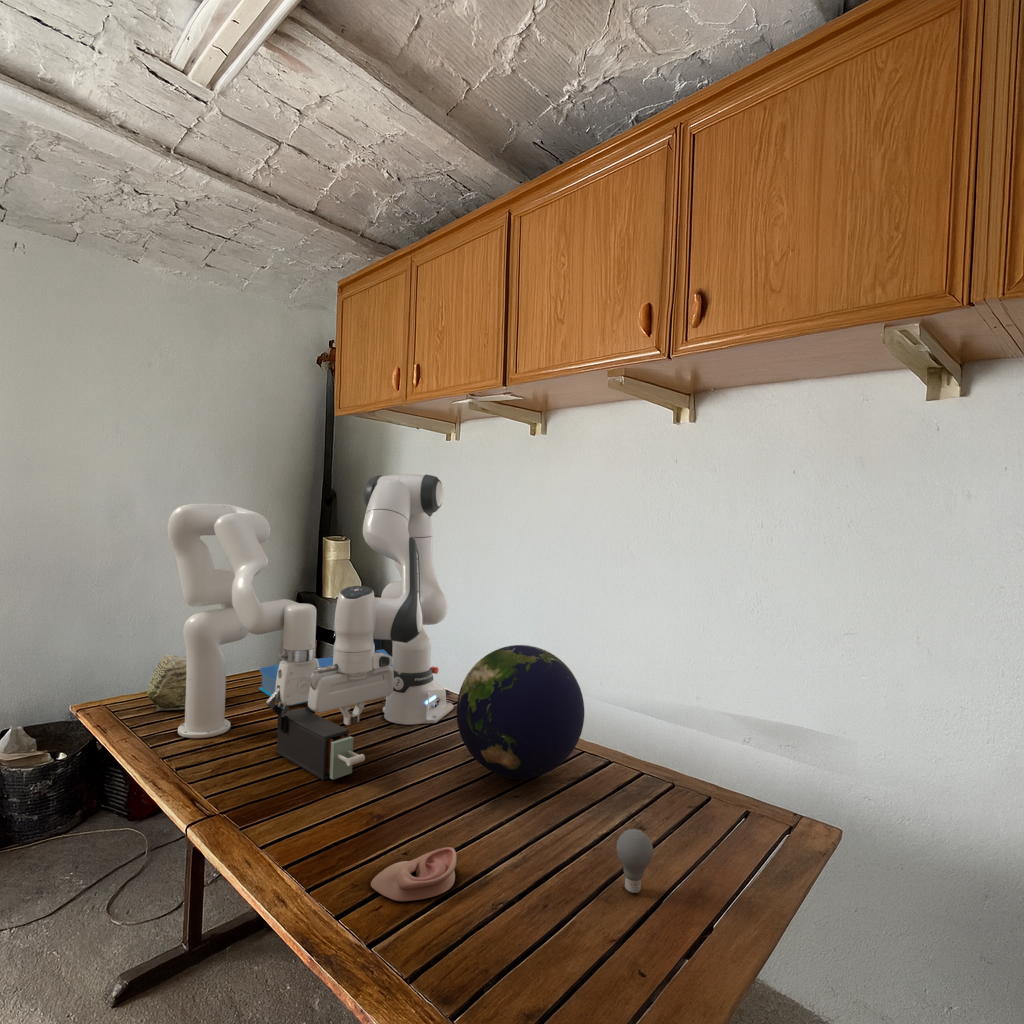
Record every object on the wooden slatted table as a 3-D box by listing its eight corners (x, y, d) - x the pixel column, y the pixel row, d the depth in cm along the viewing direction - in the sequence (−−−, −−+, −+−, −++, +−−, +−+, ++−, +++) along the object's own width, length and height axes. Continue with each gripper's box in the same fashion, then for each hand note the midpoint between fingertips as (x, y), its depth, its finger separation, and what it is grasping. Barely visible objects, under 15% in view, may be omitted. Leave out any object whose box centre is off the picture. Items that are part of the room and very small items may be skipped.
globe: (430, 785, 141) (436, 651, 140) (486, 740, 168) (491, 628, 168) (558, 816, 130) (565, 670, 129) (595, 762, 157) (601, 642, 157)
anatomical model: (363, 870, 101) (391, 834, 112) (362, 895, 101) (390, 856, 113) (442, 884, 99) (463, 845, 110) (441, 909, 99) (462, 868, 110)
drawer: (366, 780, 140) (367, 744, 140) (346, 788, 136) (348, 750, 136) (306, 747, 157) (307, 715, 157) (287, 753, 153) (288, 720, 153)
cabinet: (347, 772, 146) (348, 729, 146) (323, 780, 141) (324, 736, 141) (299, 746, 160) (301, 707, 159) (276, 753, 155) (278, 713, 155)
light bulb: (610, 879, 108) (613, 822, 108) (644, 879, 109) (647, 822, 109) (619, 902, 102) (622, 840, 102) (655, 901, 103) (658, 840, 103)
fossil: (144, 707, 182) (145, 655, 182) (212, 696, 194) (213, 647, 194) (151, 716, 175) (153, 662, 175) (221, 703, 188) (223, 653, 188)
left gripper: (273, 663, 146) (270, 741, 146) (338, 652, 159) (335, 723, 159) (257, 657, 151) (254, 732, 151) (321, 646, 164) (319, 715, 164)
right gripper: (319, 672, 130) (317, 739, 130) (398, 656, 145) (396, 716, 146) (303, 666, 134) (301, 730, 134) (382, 651, 149) (379, 709, 150)
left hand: (296, 727), depth 155 cm, fingers closed on cabinet, 6 cm apart
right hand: (351, 723), depth 140 cm, fingers closed
